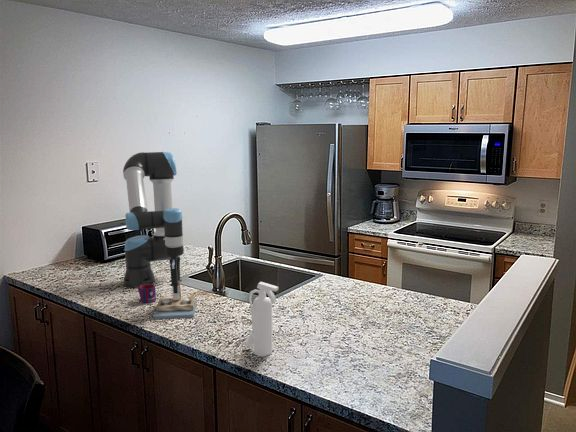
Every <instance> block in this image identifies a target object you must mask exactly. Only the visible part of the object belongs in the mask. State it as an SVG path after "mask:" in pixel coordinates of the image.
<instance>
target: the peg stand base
mask: <svg viewBox="0 0 576 432" xmlns="http://www.w3.org/2000/svg"><path fill="white" fill-rule="evenodd" d="M180 280H181V279H180ZM180 280H179V281H178V284H179V296H180V300H173V296H161V297H160V298H159V300H158V302H157V304H156V306H155V307H156V310H157V311H175V310H193V309H194V305H195V301H196V295H185V296H184V295H183V296H182V293H181V282H180ZM172 292H173V290H172ZM183 298H188V299H189V304H187V305H184V303H183V302H182V299H183ZM164 299H169V300H170V302H169V303H170V305H165V306H164V303H162V300H164ZM156 310H155V311H156Z"/></svg>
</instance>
